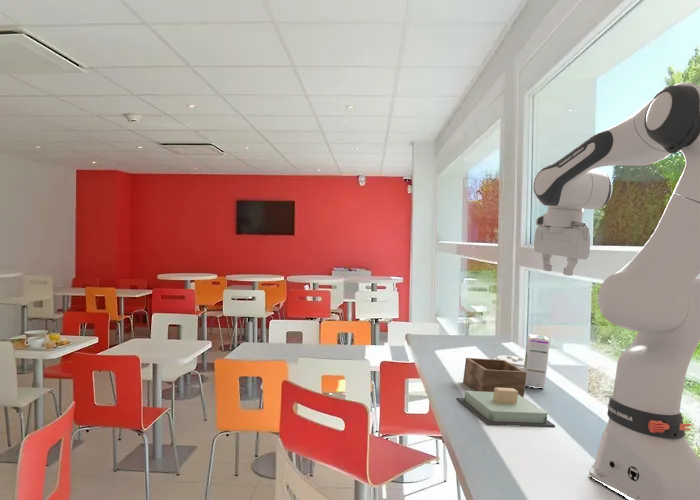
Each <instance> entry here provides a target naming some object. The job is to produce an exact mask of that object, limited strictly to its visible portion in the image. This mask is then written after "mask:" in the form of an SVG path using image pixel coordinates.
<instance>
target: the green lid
mask: <svg viewBox="0 0 700 500" xmlns="http://www.w3.org/2000/svg"><path fill="white" fill-rule="evenodd" d="M464 391H465V392H464V397H463V398H464V400H465V401H466V402H468V403H469V404H470V405H471V406H472V407H474V408H475V409H476V410H477V411H479V412H480V413H481V414H482V415H483V416H485V417H486V418H487V419H488V420H490V421H502V422H534V423H546V421H547V420H548V412H547V411H545V410H543V409H542V408H540V407H539V406H537V405H536V404H534V403H532V402H531V401H529V400H528V399H526V398H525V397H524V396H523V397H522V396H520V395H519V394H518V391H517V390H515V389H514V388H498V387H495V388H494V392H482V391H474V390H464Z"/></svg>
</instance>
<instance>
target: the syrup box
mask: <svg viewBox="0 0 700 500" xmlns="http://www.w3.org/2000/svg"><path fill="white" fill-rule="evenodd" d="M550 342H551V340H550V339H549V338H548V336H545V335H542V334H541V335H540V334H529V333H528V334H527V339H526V347H525V355H524V356H525V357H524V359H525V363H524V371H525V372H527V374H526V381H525V387H526V386H535V387H542V388H544V389H545V385H546V378H547V376H546V375H547V369H548V361H549V360H548V359H549V350H550Z"/></svg>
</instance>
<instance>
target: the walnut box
mask: <svg viewBox="0 0 700 500" xmlns="http://www.w3.org/2000/svg"><path fill="white" fill-rule="evenodd" d="M463 372H464V373H463V380H462V383H464V384H465V385H466V386H468V387H469V388H470V389H472V391H482V392H494V388H495V387H498V388H514V389H515V390H517V391H518V394H519V395H520V396H522V397H523V398H524V396H525V387H526V386H525V381H526V374H527V372H525V371H523V370H522V369H520V368H518V367H516V366H514V365H513V364H511V363H509V362H507V361H505V360H494V358H493V359H491V358H476V357H475V358H473V357H466V358H465V363H464V371H463Z"/></svg>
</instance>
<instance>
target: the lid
mask: <svg viewBox="0 0 700 500" xmlns="http://www.w3.org/2000/svg"><path fill="white" fill-rule="evenodd" d="M493 359H494V360H505V361H507V362H509V363H511V364H513V365H514V366H516V367H518V368H520V369H522V370H523V371H524V363H525V357H524V358H523V357H519V356H515V355H508V354H507V355H505V354H502V355H497V356H496V357H494V358H493Z"/></svg>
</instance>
